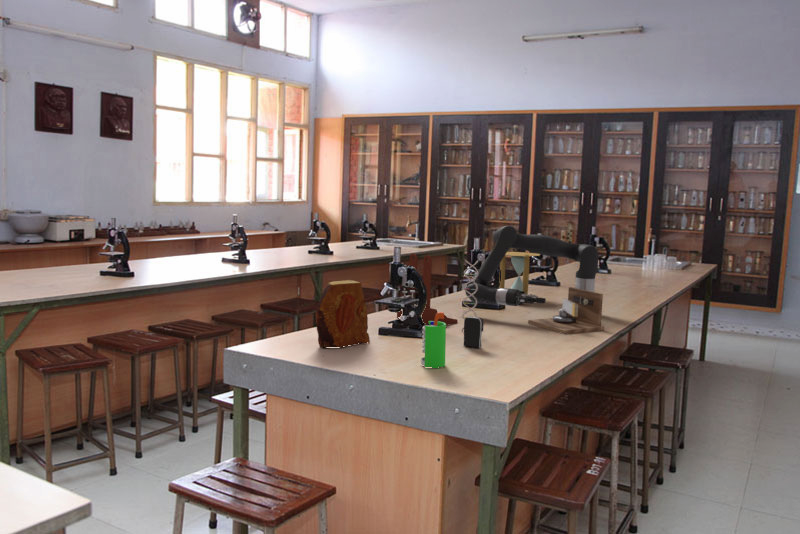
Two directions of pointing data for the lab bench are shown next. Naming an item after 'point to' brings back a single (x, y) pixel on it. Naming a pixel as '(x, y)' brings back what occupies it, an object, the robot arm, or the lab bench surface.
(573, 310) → the cam foot
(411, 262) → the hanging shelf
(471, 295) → the dna model
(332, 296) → the fossil rock
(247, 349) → the lab bench surface
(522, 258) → the hourglass
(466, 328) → the battery charger
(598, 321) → the levelling base
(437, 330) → the green-shelled ribbed roller
